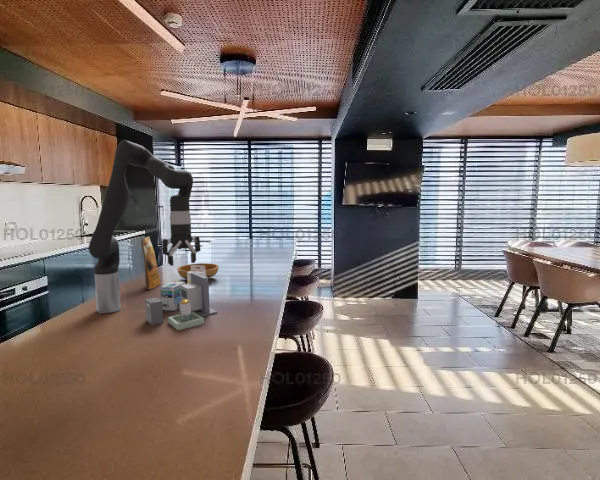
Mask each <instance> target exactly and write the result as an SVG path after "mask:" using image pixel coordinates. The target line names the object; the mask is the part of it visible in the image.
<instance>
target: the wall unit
mask: <svg viewBox="0 0 600 480" xmlns="http://www.w3.org/2000/svg"><path fill="white" fill-rule="evenodd" d="M209 283H210V282H209V278H208V277H205V276H203V275H200V274H198V273H195V272H193V273H191V283H190V284H187V283H186V284H184V285H180V286H181V300H186V299H187V300H189V301H190V302H191V312H195V313H196V314H198V315H199V316H201V317H203V318H204V317H208V316H211V315H216V314H218V311H217V310H215V309H214V308H212V307H210V287H209Z"/></svg>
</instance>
